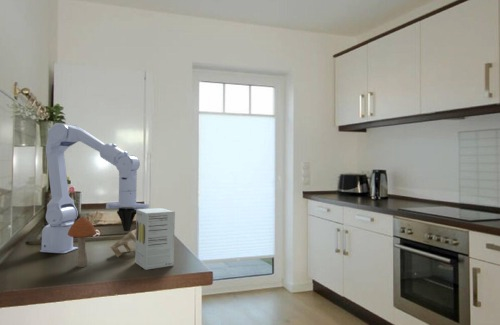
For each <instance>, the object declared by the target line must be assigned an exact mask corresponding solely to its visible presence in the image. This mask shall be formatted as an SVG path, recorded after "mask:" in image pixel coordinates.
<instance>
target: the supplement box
mask: <svg viewBox="0 0 500 325" xmlns="http://www.w3.org/2000/svg"><path fill="white" fill-rule="evenodd" d="M135 217H136V218H135V219H136V220H135V223H136V224H135V229H136V243H135V251H134V252H135V253H134V255H135V257H134V261H135V264H137V265H138V266H139V267H141V268H143V270H145V271H147V270H152V269H159V268H166V267H173V266H174V265H175V264H174V263H175V262H174V259H175V228H176V226H175V224H176V223H175V222H176V220H175V219H176V212H175V211H174V210H169V209H166V208H164V207H159V208H158V207H157V208H149V209H137V210H136V215H135Z"/></svg>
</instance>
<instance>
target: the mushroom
mask: <svg viewBox="0 0 500 325" xmlns="http://www.w3.org/2000/svg"><path fill="white" fill-rule="evenodd" d="M68 235H69V236H71V237H73V238H76V239H77V247H78V249H77V255H76V266H77V267H78V268H83V267H86V266H87V264H88V255H87V251H86V238H90V237H93V236H95V235H97V230H96V229H95V226H94V224H93V223H92V222H91V221H90V220H89V219H88V218H87V217H84V216H81V217H79V218H78V219H76V220H75V221H74V224H73V225H72V226H71V228H70V229H69V231H68Z"/></svg>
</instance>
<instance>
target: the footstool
mask: <svg viewBox="0 0 500 325" xmlns="http://www.w3.org/2000/svg"><path fill="white" fill-rule="evenodd" d="M130 241H133V243H134V244H136V228H135V229H133V230H130V231H128V233H127V234H125V235H124V236H123V237H121V238H120V239H119V240H118V241H117V242H115V243H114V244H113V245H111V246H110V250H112V252H113V253H114V255H115V256H116V257H117V258H120V256H121V255H123V254H122V251H120V249H119V247H122V246H123V247H124V249H125V250H126V251H127V252H128V253H129V252H131V251H132V250H133V248H132V247H131V245H130V244H129V242H130Z"/></svg>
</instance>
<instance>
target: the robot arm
mask: <svg viewBox="0 0 500 325" xmlns="http://www.w3.org/2000/svg"><path fill="white" fill-rule="evenodd" d="M78 142H81V143H83V144H85V145H86V146H87V147H90V148H92V149H93V150H95V151H97V152H98V153H99V156H100V158H101V159H103V160H105V161H106V162H108V163H109V164H111V165H113V166H115V167H116V169H117V171H118V176H119V177H118V202H106V204H105V209H106V210H109V209H110V210H111V209H112V210H117V211H116V213H117V215H118V218H119V219H120V221H121V225H122V229H123V232H130V231H131V227H132V224H133V221H134V219H135V217H136V210H137V209H150V208H149V206H150V205H149V203H140V202H139V203H138V202H137V187H138V186H137V184H138V182H137V180H138V178H137V177H138V176H137V175H138V173H137V172H138V170H139V168H140V166H141V164H140V160H139V159H138V157H137V156H136V155H133V154H131V155H130V154H129V152H128V151H126V150H123V149H121V148H119V147H118V145H117V144H116V143H111V142H109V143H104V142H103V141H101V140H100V139H98V138H97V137H96V136H94V135H92V134H91V133H89V132H88V131H87V130H85V129H84V128H81V127H79V126H77V125H74V124H73V125H71V124H65V123H61V122H56V123H54V124H53V125H52V126H51V127H50V128H48V130H47V142H46V145H45V154H46V155H45V156H46V164H47V170H48V171H47V172H48V178H49V187H50V194H51V196H50V197H51V198H50V200H49V202H47V204H46V213H45V220H46V222H47V224H46V225H44V227H43V229H42V232H41V249H40V250H39V253H53V254H66V253H69V252H72V251H75V250H78V246H74V237H71V236H69V235H68V231H69V229H70V228H71V226H72V225H73V224H74V222H75V221H76V220H77V218H78V214H79V212H78V209H77V207H76V205H75V201H74V199H73V198H72V197H71V196H70V194H69V193H70V192H69V184H68V177H67V176H68V175H67V169H66V160H65V159H66V158H65V152H66V151H67V149H68V148H70V147H71V146H73V145H75V144H76V143H78Z"/></svg>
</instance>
